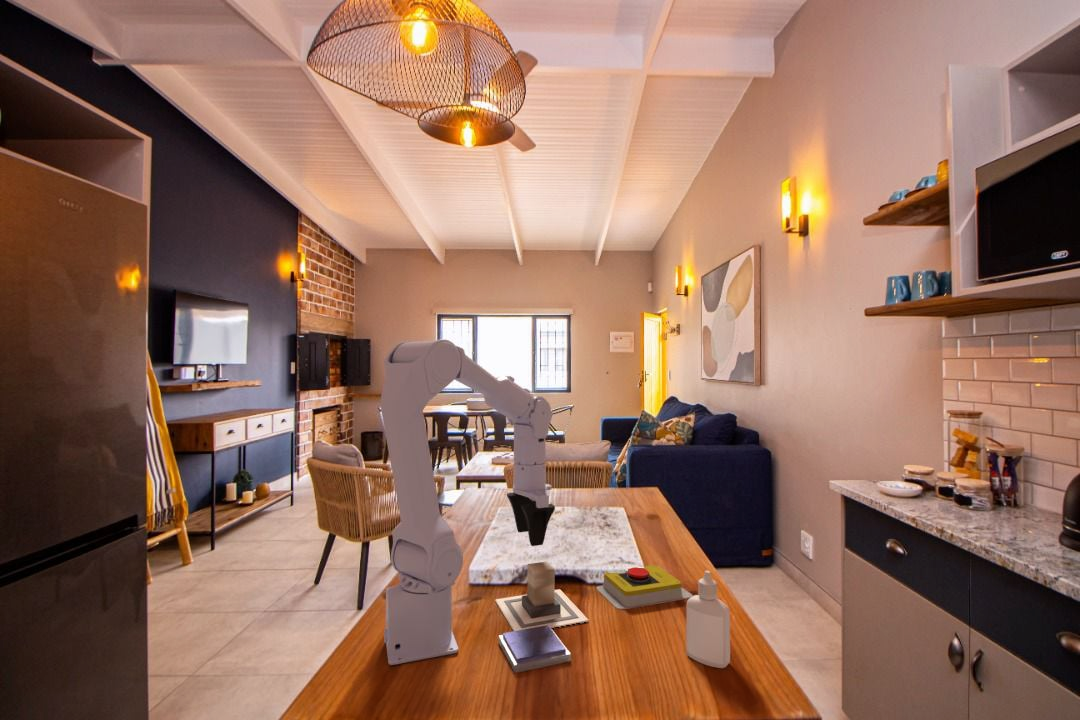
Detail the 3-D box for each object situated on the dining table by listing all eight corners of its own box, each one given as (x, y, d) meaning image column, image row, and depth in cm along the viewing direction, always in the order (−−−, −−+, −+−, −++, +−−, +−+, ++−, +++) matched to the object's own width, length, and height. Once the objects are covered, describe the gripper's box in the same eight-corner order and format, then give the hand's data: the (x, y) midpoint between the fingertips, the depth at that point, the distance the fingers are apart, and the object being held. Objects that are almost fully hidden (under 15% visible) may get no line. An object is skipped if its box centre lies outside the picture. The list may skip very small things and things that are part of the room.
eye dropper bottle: (709, 674, 67) (708, 582, 67) (682, 652, 72) (681, 566, 72) (735, 666, 69) (734, 577, 69) (706, 645, 74) (706, 562, 74)
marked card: (516, 635, 77) (516, 632, 77) (495, 601, 88) (495, 598, 88) (588, 621, 81) (588, 619, 81) (559, 590, 92) (559, 588, 92)
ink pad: (514, 673, 67) (514, 661, 67) (498, 642, 75) (498, 632, 75) (570, 661, 70) (570, 650, 70) (549, 632, 78) (549, 622, 78)
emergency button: (594, 566, 94) (665, 556, 98) (594, 590, 94) (665, 579, 98) (617, 586, 85) (694, 574, 90) (618, 613, 85) (694, 600, 90)
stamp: (531, 618, 81) (531, 574, 81) (521, 604, 86) (521, 563, 86) (560, 613, 83) (560, 570, 83) (549, 600, 88) (549, 559, 88)
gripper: (565, 468, 87) (565, 548, 87) (537, 454, 101) (537, 523, 100) (525, 471, 85) (526, 553, 84) (502, 456, 98) (502, 527, 98)
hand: (529, 537), depth 92 cm, fingers open, 7 cm apart
